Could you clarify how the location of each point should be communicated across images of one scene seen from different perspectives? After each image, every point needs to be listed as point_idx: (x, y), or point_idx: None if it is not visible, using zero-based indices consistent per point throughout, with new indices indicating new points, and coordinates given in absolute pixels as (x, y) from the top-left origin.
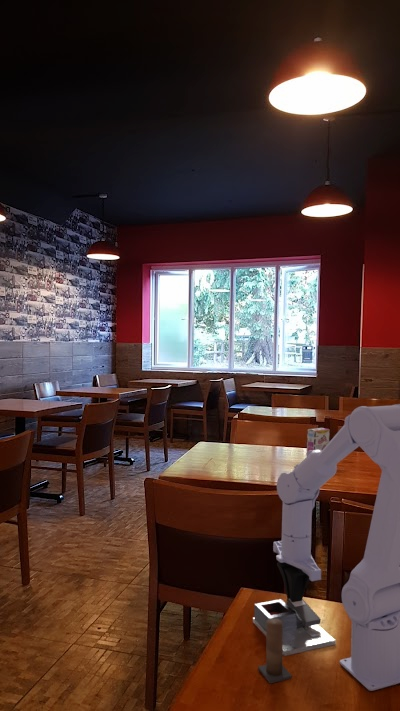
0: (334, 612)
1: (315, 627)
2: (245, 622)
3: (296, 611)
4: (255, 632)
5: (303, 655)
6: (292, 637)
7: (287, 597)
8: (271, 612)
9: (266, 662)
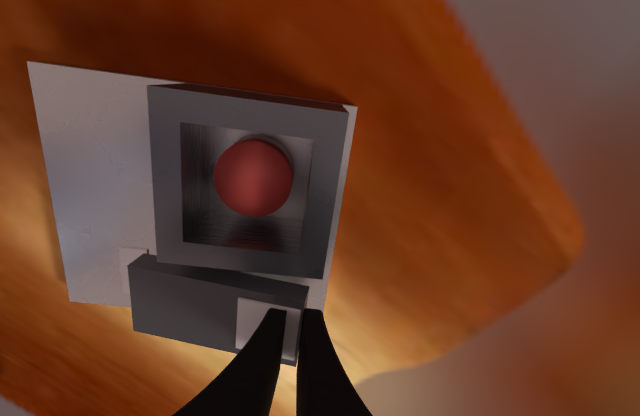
0: None
1: None
2: (371, 69)
3: (209, 280)
4: (271, 59)
5: (36, 143)
6: (132, 170)
7: (316, 314)
8: (289, 184)
9: None
